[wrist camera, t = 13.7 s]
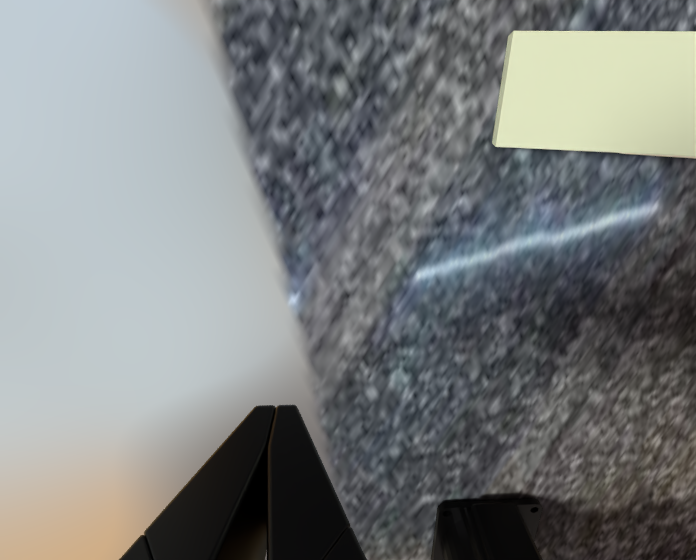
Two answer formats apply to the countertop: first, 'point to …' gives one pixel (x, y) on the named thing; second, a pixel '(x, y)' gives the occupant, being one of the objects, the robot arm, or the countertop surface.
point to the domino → (599, 92)
